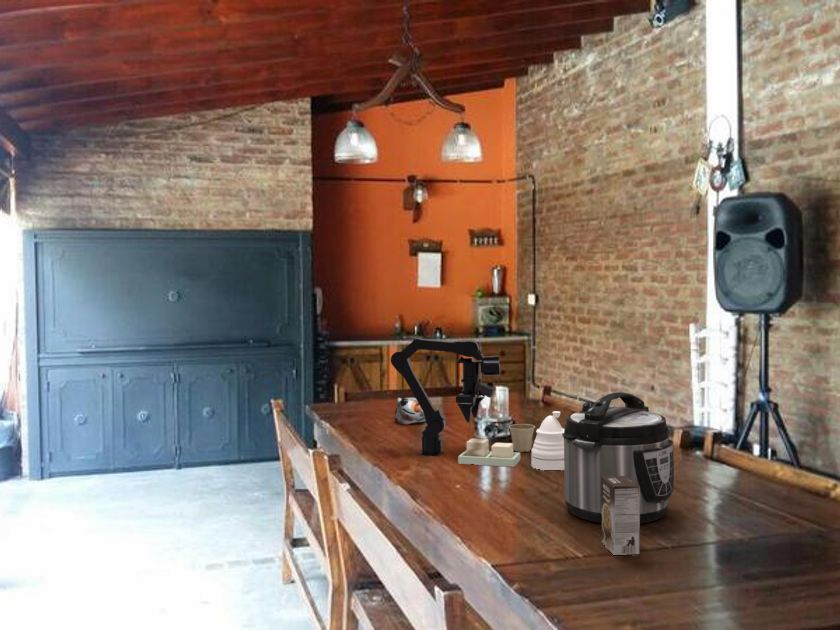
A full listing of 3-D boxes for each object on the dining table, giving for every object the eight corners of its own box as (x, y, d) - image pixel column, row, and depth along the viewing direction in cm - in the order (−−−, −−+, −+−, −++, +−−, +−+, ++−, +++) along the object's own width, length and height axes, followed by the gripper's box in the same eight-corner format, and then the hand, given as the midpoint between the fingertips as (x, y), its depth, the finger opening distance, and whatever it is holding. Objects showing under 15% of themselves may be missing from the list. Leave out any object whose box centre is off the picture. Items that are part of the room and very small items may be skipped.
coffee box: (600, 543, 196) (599, 475, 195) (627, 542, 196) (626, 474, 195) (612, 556, 187) (612, 485, 186) (640, 555, 187) (640, 484, 186)
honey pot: (575, 463, 276) (575, 409, 275) (565, 472, 264) (564, 416, 263) (538, 460, 281) (537, 407, 280) (526, 469, 269) (525, 413, 268)
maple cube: (466, 459, 280) (466, 442, 279) (471, 455, 285) (471, 438, 285) (484, 460, 278) (483, 442, 277) (488, 456, 283) (488, 439, 283)
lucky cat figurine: (432, 420, 360) (435, 394, 352) (420, 435, 350) (423, 409, 343) (400, 408, 364) (403, 383, 357) (388, 424, 355) (390, 398, 347)
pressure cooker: (586, 534, 203) (585, 405, 201) (543, 503, 230) (542, 389, 228) (697, 523, 209) (697, 398, 208) (643, 494, 237) (642, 383, 235)
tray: (458, 463, 279) (457, 446, 278) (466, 457, 288) (466, 440, 288) (514, 466, 272) (513, 448, 272) (520, 460, 282) (520, 442, 282)
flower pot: (534, 453, 291) (534, 429, 291) (507, 453, 293) (507, 428, 293) (536, 447, 301) (536, 424, 300) (510, 447, 302) (509, 423, 302)
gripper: (486, 379, 281) (487, 425, 281) (499, 372, 298) (500, 415, 299) (454, 378, 284) (455, 424, 285) (469, 372, 302) (470, 414, 303)
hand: (471, 419), depth 293 cm, fingers open, 9 cm apart
